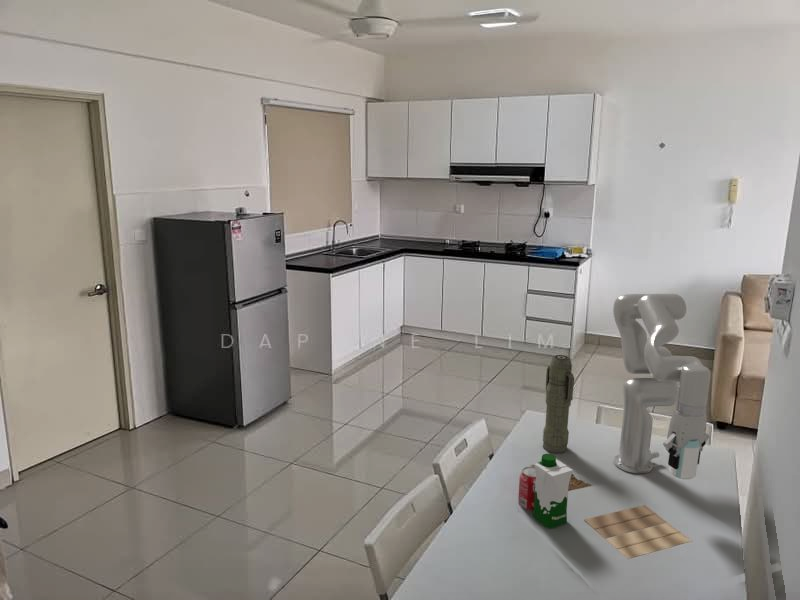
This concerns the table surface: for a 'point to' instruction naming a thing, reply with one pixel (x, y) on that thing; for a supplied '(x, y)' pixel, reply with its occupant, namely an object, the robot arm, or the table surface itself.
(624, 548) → the oak board
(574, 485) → the wooden fragment
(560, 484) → the milk carton
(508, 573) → the table surface
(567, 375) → the thermos
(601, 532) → the plank
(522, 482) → the soda can
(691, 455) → the can
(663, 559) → the table surface
